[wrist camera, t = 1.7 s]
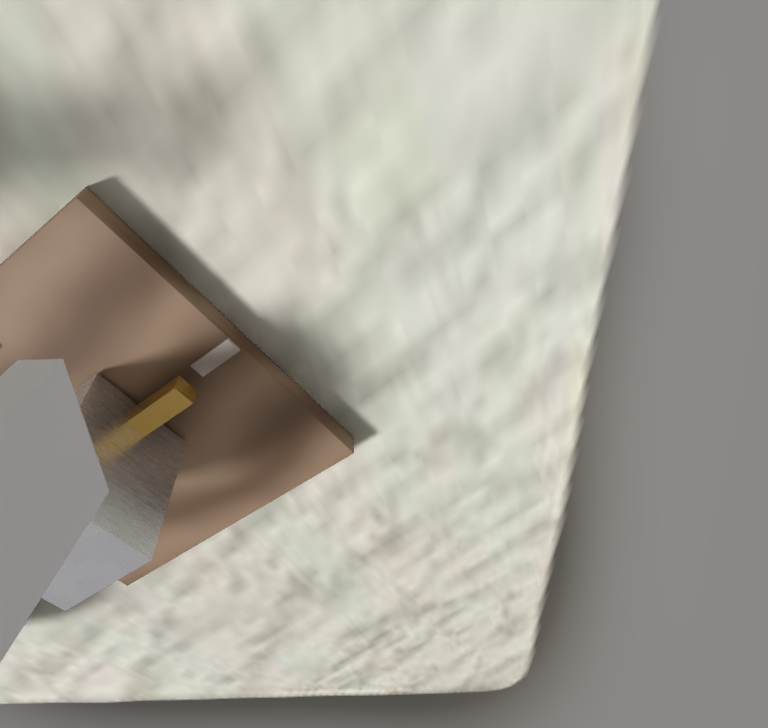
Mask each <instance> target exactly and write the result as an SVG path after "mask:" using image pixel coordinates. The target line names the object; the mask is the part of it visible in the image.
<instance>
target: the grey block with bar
mask: <svg viewBox="0 0 768 728" xmlns="http://www.w3.org/2000/svg"><path fill="white" fill-rule="evenodd" d="M74 392H75V395H76V398H77V400H78V403H79V406H80V409H81V412H82V415H83V418H84V420H85V423H86V426H87V429H88V432H89V435H90V438H91V440H92V443H93V446H94V449H95V452H96V455H97V458H98V460H99V463H100V466H101V469H102V472H103V475H104V478H105V480H106V483H107V486H108V489H109V492H108V494H107V495H106V497H105V499H104V500H103V502H102V503H101V505H100V506H99V508H98V510H97V511H96V513H95V514H94V516H93V517H92V519H91V521H90V522H89V524H88V525H87V527H86V528H85V530H84V532H83V533H82V535H81V536H80V538H79V539H78V541H77V543H76V544H75V546H74V547H73V549H72V550H71V552H70V554H69V555H68V557H67V558H66V560H65V561H64V563H63V565H62V566H61V568H60V569H59V571H58V572H57V574H56V576H55V577H54V579H53V580H52V582H51V584H50V585H49V587H48V588H47V590H46V591H45V593H44V595H43V596H42V599H44V600H46V601H48V602H49V603H51V604H53V605H55V606H57V607H59V608H60V609H62V610H64V611H66V610H68V609H70V608H72V607H73V606H75V605H77V604H78V603H80V602H82V601H83V600H85V599H87V598H88V597H90V596H92V595H93V594H95V593H97V592H98V591H100V590H102V589H104V588H105V587H107V586H109V585H110V584H112V583H114V582H115V581H117V580H119V579H120V578H122V577H124V576H125V575H127V574H129V573H130V572H132V571H134V570H136V569H137V568H139V567H141V566H142V565H144V564H146V563H147V562H149V561H151V559H152V556H153V553H154V549H155V546H156V543H157V540H158V536H159V533H160V530H161V526H162V523H163V520H164V517H165V513H166V510H167V507H168V503H169V500H170V497H171V494H172V490H173V487H174V484H175V480H176V477H177V474H178V471H179V467H180V464H181V461H182V457H183V454H184V451H185V448H186V444H187V443H186V442H185V441H184V440H182V439H181V438H180V437H179V436H177V435H176V434H175V433H173V432H172V431H171V430H170V429H168V428H167V427H166V426H164V425H163V424H164V423H165V422H167V421H168V420H170V419H171V418H173V417H174V416H175V415H177V414H178V413H180V412H181V411H183V410H184V409H186V408H187V407H189V406H190V405H191V404H193V402H194V399H195V396H196V393H197V390H196V389H195V388H194V387H192V386H191V385H190V384H189V383H188V382H186V381H185V380H184V379H183V378H182V377H181V376H178V377H176V378H175V379H173V380H172V381H171V382H169V383H168V384H166V385H165V386H164V387H162V388H161V389H159V390H158V391H157V392H155V393H154V394H152V395H151V396H150V397H148V398H147V399H145V400H144V401H143V402H141V403H140V404H136V403H135V402H134V401H132V400H131V399H130V398H129V397H127V396H126V395H125V394H123V393H122V392H121V391H120V390H118V389H117V388H116V387H114V386H113V385H112V384H111V383H109V382H108V381H107V380H105V379H104V378H103V377H102V376H100V375H99V374H98V373H97V374H96V375H94V376H93V377H92V378H90V379H89V380H88V381H86V382H85V383H84V384H82V385H81V386H80V387H79V388H77V389H76V390H75V391H74Z"/></svg>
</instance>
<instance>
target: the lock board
mask: <svg viewBox="0 0 768 728" xmlns="http://www.w3.org/2000/svg"><path fill="white" fill-rule="evenodd" d="M38 359H63V361H64V363H65V366H66V369H67V372H68V375H69V378H70V380H71V383H72V386H73V389H74V391H75V390H76V389H77V388H79V387H80V386H81V385H82V384H84V383H85V382H86V381H88V380H89V379H90V378H92V377H93V376H94V375H96V374H97V373H98V374H99V375H100V376H102V377H103V378H104V379H105V380H107V381H108V382H109V383H111V384H112V385H113V386H114V387H116V388H117V389H118V390H120V391H121V392H122V393H123V394H125V395H126V396H127V397H129V398H130V399H131V400H132V401H134V402H135V403H136V404H140V403H141V402H143V401H144V400H145V399H147V398H148V397H150V396H151V395H152V394H154V393H155V392H157V391H158V390H159V389H161V388H162V387H164V386H165V385H166V384H168V383H169V382H171V381H172V380H173V379H175V378H176V377H178V376H181V377H182V378H183V379H184V380H185V381H186V382H188V383H189V384H190V385H191V386H192V387H194V388H195V389H196V390H197V393H196V396H195V399H194V402H193V404H191V405H190V406H189V407H187V408H186V409H184V410H183V411H181V412H180V413H178V414H177V415H175V416H174V417H173V418H171V419H170V420H168V421H167V422H165V423H164V424H163V425H164V426H166V427H167V428H168V429H170V430H171V431H172V432H173V433H175V434H176V435H177V436H179V437H180V438H181V439H182V440H184V441H185V442H186V443H187V444H186V448H185V451H184V454H183V457H182V461H181V464H180V467H179V471H178V474H177V477H176V480H175V484H174V487H173V490H172V494H171V497H170V500H169V503H168V507H167V510H166V513H165V517H164V520H163V523H162V526H161V530H160V533H159V536H158V540H157V543H156V546H155V549H154V553H153V556H152V559H151V561H149V562H147V563H146V564H144V565H142V566H141V567H139V568H137V569H136V570H134V571H132V572H130V573H129V574H127V575H125V576H124V577H122V578H120V579H119V581H121V582H122V583H124V584H125V585H127V586H128V585H129V584H131V583H133V582H134V581H136V580H138V579H140V578H141V577H143V576H145V575H146V574H148V573H150V572H152V571H153V570H155V569H157V568H158V567H160V566H162V565H163V564H165V563H167V562H169V561H170V560H172V559H174V558H175V557H177V556H179V555H181V554H182V553H184V552H186V551H187V550H189V549H191V548H193V547H194V546H196V545H198V544H199V543H201V542H203V541H204V540H206V539H208V538H210V537H211V536H213V535H215V534H216V533H218V532H220V531H222V530H223V529H225V528H227V527H228V526H230V525H232V524H233V523H235V522H237V521H239V520H240V519H242V518H244V517H245V516H247V515H249V514H251V513H252V512H254V511H256V510H257V509H259V508H261V507H262V506H264V505H266V504H268V503H269V502H271V501H273V500H274V499H276V498H278V497H280V496H281V495H283V494H285V493H286V492H288V491H290V490H292V489H293V488H295V487H297V486H298V485H300V484H302V483H303V482H305V481H307V480H309V479H310V478H312V477H314V476H315V475H317V474H319V473H321V472H322V471H324V470H326V469H327V468H329V467H331V466H332V465H334V464H336V463H338V462H339V461H341V460H343V459H344V458H346V457H348V456H350V455H351V454H353V453H354V437H352V436H351V435H350V434H349V433H348V432H347V431H346V430H345V429H344V428H343V427H342V426H341V425H340V424H339V423H338V422H336V421H335V420H334V419H333V418H332V417H331V416H330V415H329V414H328V413H327V412H326V411H325V410H324V409H323V408H322V407H321V406H319V405H318V404H317V403H316V402H315V401H314V400H313V399H312V398H311V397H310V396H309V395H308V394H307V393H306V392H305V391H303V390H302V389H301V388H300V387H299V386H298V385H297V384H296V383H295V382H294V381H293V380H292V379H291V378H290V377H289V376H287V375H286V374H285V373H284V372H283V371H282V370H281V369H280V368H279V367H278V366H277V365H276V364H275V363H274V362H273V361H271V360H270V359H269V358H268V357H267V356H266V355H265V354H264V353H263V352H262V351H261V350H260V349H259V348H258V347H257V346H255V345H254V344H253V343H252V342H251V341H250V340H249V339H248V338H247V337H246V336H245V335H244V334H243V333H242V332H241V331H240V330H238V329H237V328H236V327H235V326H234V325H233V324H232V323H231V322H230V321H229V320H228V319H227V318H226V317H225V316H224V315H222V314H221V313H220V312H219V311H218V310H217V309H216V308H215V307H214V306H213V305H212V304H211V303H210V302H209V301H208V300H206V299H205V298H204V297H203V296H202V295H201V294H200V293H199V292H198V291H197V290H196V289H195V288H194V287H193V286H192V285H190V284H189V283H188V282H187V281H186V280H185V279H184V278H183V277H182V276H181V275H180V274H179V273H178V272H177V271H176V270H175V269H173V268H172V267H171V266H170V265H169V264H168V263H167V262H166V261H165V260H164V259H163V258H162V257H161V256H160V255H159V254H157V253H156V252H155V251H154V250H153V249H152V248H151V247H150V246H149V245H148V244H147V243H146V242H145V241H144V240H143V239H141V238H140V237H139V236H138V235H137V234H136V233H135V232H134V231H133V230H132V229H131V228H130V227H129V226H128V225H127V224H125V223H124V222H123V221H122V220H121V219H120V218H119V217H118V216H117V215H116V214H115V213H114V212H113V211H112V210H111V209H109V208H108V207H107V206H106V205H105V204H104V203H103V202H102V201H101V200H100V199H99V198H98V197H97V196H96V195H95V194H94V193H92V192H91V191H90V190H89V189H88V188H87V187H85V188H84V189H83V190H82V191H81V192H80V193H79V194H78V195H77V196H76V197H74V198H73V199H72V200H71V201H70V202H69V203H68V204H67V205H66V206H65V207H63V208H62V209H61V210H60V211H59V212H58V213H57V214H56V215H55V216H53V217H52V218H51V219H50V220H49V221H48V222H47V223H46V224H45V225H44V226H42V227H41V228H40V229H39V230H38V231H37V232H36V233H35V234H34V235H33V236H31V237H30V238H29V239H28V240H27V241H26V242H25V243H24V244H23V245H21V246H20V247H19V248H18V249H17V250H16V251H15V252H14V253H13V254H12V255H10V256H9V257H8V258H7V259H6V260H5V261H4V262H3V263H2V264H1V265H0V376H1V375H2V374H3V373H4V372H5V371H6V370H7V369H8V368H10V367H11V366H12V365H13V364H14V363H15V362H16V361H17V360H38Z"/></svg>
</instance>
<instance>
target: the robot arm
mask: <svg viewBox="0 0 768 728" xmlns="http://www.w3.org/2000/svg"><path fill="white" fill-rule="evenodd" d="M108 492H109V489H108V486H107V483H106V480H105V478H104V475H103V472H102V469H101V466H100V463H99V460H98V458H97V455H96V452H95V449H94V446H93V443H92V440H91V438H90V435H89V432H88V429H87V426H86V423H85V420H84V418H83V415H82V412H81V409H80V406H79V403H78V400H77V398H76V395H75V392H74V389H73V386H72V383H71V380H70V378H69V375H68V372H67V369H66V366H65V363H64V361H63V359H38V360H17V361H16V362H15V363H14V364H13V365H12V366H11V367H10V368H8V369H7V370H6V371H5V372H4V373H3V374H2V375H1V376H0V662H1V661H2V659H3V657H4V656H5V654H6V653H7V651H8V650H9V648H10V646H11V645H12V643H13V642H14V640H15V639H16V637H17V635H18V634H19V632H20V631H21V629H22V628H23V626H24V624H25V623H26V621H27V620H28V618H29V617H30V615H31V613H32V612H33V610H34V609H35V607H36V606H37V604H38V602H39V601H40V599H41V598H42V596H43V595H44V593H45V591H46V590H47V588H48V587H49V585H50V584H51V582H52V580H53V579H54V577H55V576H56V574H57V572H58V571H59V569H60V568H61V566H62V565H63V563H64V561H65V560H66V558H67V557H68V555H69V554H70V552H71V550H72V549H73V547H74V546H75V544H76V543H77V541H78V539H79V538H80V536H81V535H82V533H83V532H84V530H85V528H86V527H87V525H88V524H89V522H90V521H91V519H92V517H93V516H94V514H95V513H96V511H97V510H98V508H99V506H100V505H101V503H102V502H103V500H104V499H105V497H106V495H107V494H108Z"/></svg>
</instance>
